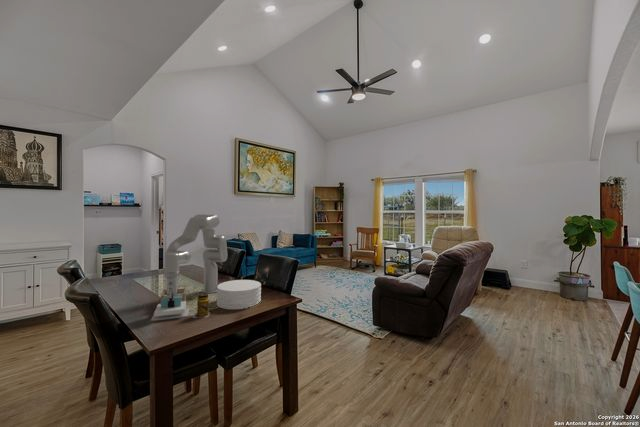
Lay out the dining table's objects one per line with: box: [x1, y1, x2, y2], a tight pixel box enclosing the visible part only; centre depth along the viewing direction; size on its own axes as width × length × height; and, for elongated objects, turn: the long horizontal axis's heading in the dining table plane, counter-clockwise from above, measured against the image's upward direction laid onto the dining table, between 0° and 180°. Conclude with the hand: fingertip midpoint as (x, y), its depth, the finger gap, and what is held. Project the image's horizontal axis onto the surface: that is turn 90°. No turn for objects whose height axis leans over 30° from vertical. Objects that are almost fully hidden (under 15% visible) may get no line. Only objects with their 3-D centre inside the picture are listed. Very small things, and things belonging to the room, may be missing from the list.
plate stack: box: [216, 279, 262, 310], centre depth 181 cm, size 28×28×12 cm
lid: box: [153, 296, 187, 316], centre depth 157 cm, size 15×15×7 cm
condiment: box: [191, 293, 211, 319], centre depth 157 cm, size 7×8×12 cm
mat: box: [150, 307, 190, 322], centre depth 157 cm, size 18×13×1 cm
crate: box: [159, 287, 187, 304], centre depth 171 cm, size 13×13×9 cm
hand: (171, 306), depth 157 cm, fingers closed on lid, 3 cm apart
